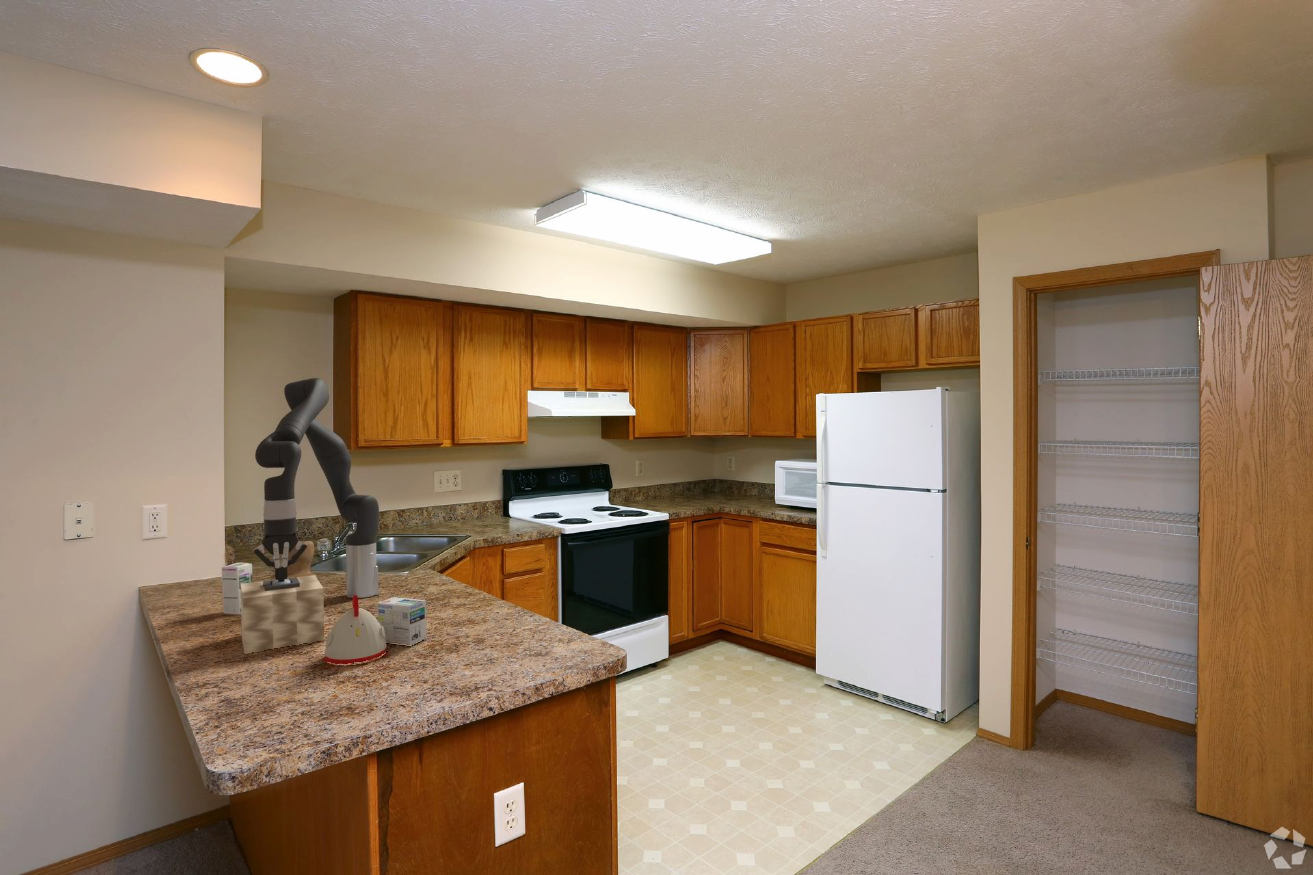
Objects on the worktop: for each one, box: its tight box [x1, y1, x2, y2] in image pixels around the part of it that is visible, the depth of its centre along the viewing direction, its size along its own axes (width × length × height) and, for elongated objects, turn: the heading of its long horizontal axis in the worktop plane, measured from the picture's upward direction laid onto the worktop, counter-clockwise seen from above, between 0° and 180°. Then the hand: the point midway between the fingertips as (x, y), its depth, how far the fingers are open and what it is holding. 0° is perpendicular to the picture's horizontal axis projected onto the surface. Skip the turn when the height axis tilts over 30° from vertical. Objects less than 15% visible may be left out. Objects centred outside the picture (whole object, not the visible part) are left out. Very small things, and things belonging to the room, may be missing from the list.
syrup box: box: [221, 562, 254, 616], centre depth 206 cm, size 6×6×14 cm
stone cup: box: [269, 540, 318, 580], centre depth 244 cm, size 15×12×15 cm
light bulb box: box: [376, 596, 427, 645], centre depth 178 cm, size 11×7×11 cm, turn 71°
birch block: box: [240, 575, 325, 655], centre depth 181 cm, size 18×18×14 cm
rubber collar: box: [262, 577, 300, 591], centre depth 181 cm, size 8×8×1 cm
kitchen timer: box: [324, 595, 388, 664], centre depth 167 cm, size 14×14×15 cm
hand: (281, 581), depth 181 cm, fingers closed
